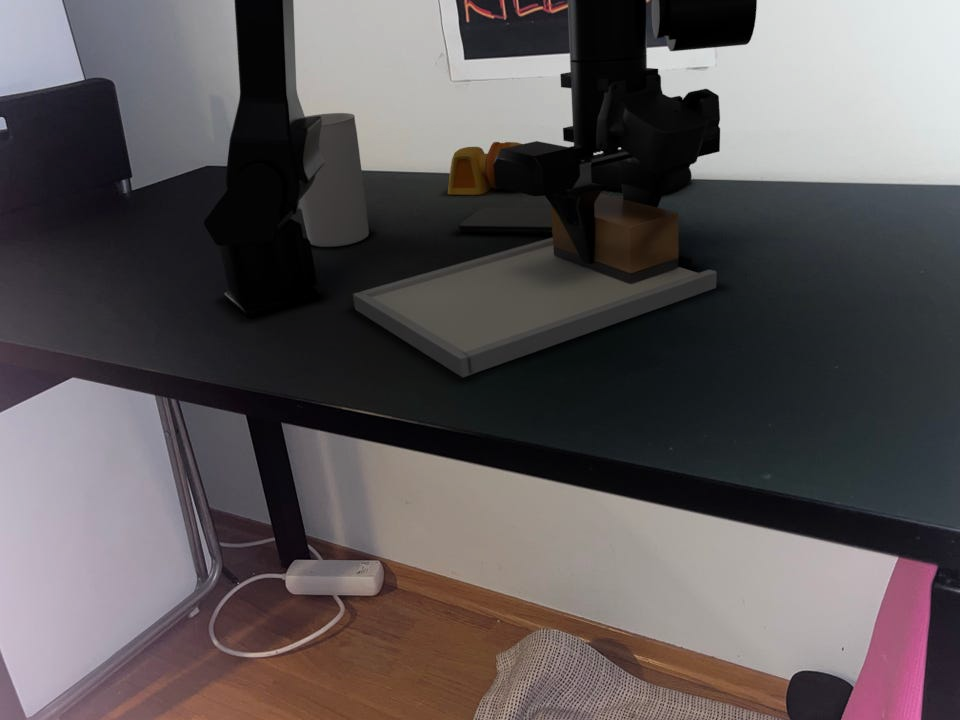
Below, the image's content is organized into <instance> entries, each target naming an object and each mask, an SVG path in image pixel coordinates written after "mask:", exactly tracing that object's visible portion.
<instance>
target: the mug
mask: <svg viewBox="0 0 960 720" xmlns="http://www.w3.org/2000/svg"><path fill="white" fill-rule="evenodd" d="M315 116H320V117H321V118H322V124H321V132H320V139H319V147H320V154H321V156H322V159H323V161H324V165H323V166H322V167H321V168H320V170H319V171H318V172H317V173H316V175H315V179H314V181H313V184H312V185H311V187H310V188H309V189H308V191H307V192H306V193H305V194H304V195H303V197H302V198H301V199H300V200H299V204H298V209H297V210H300V211H301V213H302V217H303V223H304V227H305V228H304V229H305V232H306V236H307V237H306V238H307V239H309V240H310V245H311V246H314V247H319V248H335V247H336V248H337V247H343V246H348V245H352V244H355V243H356V244H357V243H359V242H362V241H363V240H365V239H367V238H368V237H369V234H370V230H369V220H368V211H367V202H366V195H365V187H364V186H365V185H364V179H363V171H362V163H361V155H360V146H359V140H358V139H359V138H358V132H357V125H356V119H355V117H356V116H355V115H354V114H353V113H349V112H333V113H331V112H330V113H321V114H320V113H319V114H312V115H307V116H305V118H307V117H315Z"/></svg>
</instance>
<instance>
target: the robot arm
mask: <svg viewBox="0 0 960 720" xmlns="http://www.w3.org/2000/svg"><path fill="white" fill-rule="evenodd" d="M294 6H295V5H294V0H234V15H235V17H234V18H235V33H236V49H237V50H236V51H237V67H238V80H239V82H238V83H239V98H238V99H239V100H238V104H237V108H236V111H235V116H234V121H233V124H232V129H231V134H230V136H229V141H228V142H229V143H228V151H227V152H228V154H227V160H226V161H227V163H226V169H225V171H226V172H225V186H226V190H225V192H224V194H223V195H222V196H221V198H220V199H219V200H218V202H217V203H216V204H215V206H214V207H213V208H212V210H211V211H210V212H209V214H208V215H207V216H206V217H205V219H204V221H203V226H204V227H205V229H206V230H207V232H208V233H209V235H210V237H211V239H212V240H213V242H214V243H215V245H216V246H218V247H219V250H220V256H221V260H222V264H223V269H224V273H225V278H226V283H227V287H228V290H227V291H226V292H224V298H225V300H226V301H227V302H228V303H230V304H231V305H232V306H233V307H235V308H236V309H237V310H238V311H240V312H241V313H242V314H243V315H244V316H245V317H249V318H253V317H257V316H259V315H263V314H266V313H270V312H274V311H277V310H281V309H285V308H288V307H291V306H295V305H299V304H302V303H306V302H310V301H313V300H317V299H320V298H321V291H320V290H319V289H317V288H316V287H315V286H316V285H317V283H318V280H317V279H318V278H317V273H316V268H315V262H314V256H313V251H312V244H310V240H309V239H308V237H306V236H304V234H303V229H302V228H303V227H302V224H301V223H300V222H299V221H297V220H294V219H293V218H292V217H293V216H295V215H296V214H297V212H298V210H299V209H298V204H299V200H300V199H301V198H302V197H303V195H304V194H305V193H306V192H307V191H308V189H309V188H310V187H311V185H312V184H313V181H314V179H315V175H316V173H317V172H318V171H319V170H320V168H321V167H322V166H323V165H324V161H323V159H322V156H321V154H320V147H319V139H320V132H321V124H322V118H321V117H320V116H315V117H307V118H305V117H306V116H305V113H304V110H303V107H302V104H301V102H300V98H299V95H298V89H297V67H296V66H297V65H296V38H295V37H296V36H295V10H294V8H295V7H294ZM757 7H758V0H651V25H652V31H653V32H652V33H653V37H654V38H655V39H663V38H664V37H665V40H666V44H667V45H666V46H667V49H668V50H669V52H679V51H680V52H681V51H692V50H700V49H714V48H724V47H726V48H727V47H735V46H736V47H737V46H746V45H748V44H749V43H750V41H751V40H752V37H753V34H754V30H755V26H756V18H757ZM567 19H568V20H567V21H568V23H567V24H568V41H569V42H568V43H569V44H568V46H569V67H570V68H569V69H570V71H569V72H562V73H560V74H559V76H560V77H559V78H560V88H563V89H564V88H565V89H570V91H571V93H570V94H571V115H572V117H571V118H572V125H571V126H566V127H563V128H562V133H563V134H562V135H563V138H562V139H563V141H564V142H567V143H573V145H572V146H564V145H559V144H554V143H549V142H545V141H538V140H535V141H530V142H526V143H521V145H516V146H512V147H507V148H502V149H500V151H499V153H498V155H497V157H496V159H495V161H494V164H493V167H494V179H495V186H499V187H502V188H501V189H505V188H506V189H505V190H510V191H513V192H517V193H520V194H523V195H526V196H532V197H544V196H545V199H547V201H548V202H549V204H550V206H551V205H552V207H553V208H554V210H555V211H556V213H557V214H558V216H559V218H560V220H561V222H562V223H563V225H564V227H565V229H566V231H567V233H568V235H569V237H570V239H571V241H572V243H573V245H574V246H575V248H576V250H577V252H578V254H579V256H580V258H581V260H582V261H583V262H584V263H586V264H589V265H590V264H593V263H594V254H595V214H594V204H595V201H596V199H597V198H598V196H599V195H600V193H601V194H602V191H603V190H604V189H605V188H604V186H603V185H599V184H595V183H592V176H591V168H592V167H596V166H600V165H604V164H608V163H612V162H616V161H618V165H619V172H620V179H621V186H622V190H621V191H622V199H625V200H629V201H633V202H637V203H641V204H645V205H649V206H653V207H657V208H659V205H660V202H661V200H662V197H663V195H664V194H665V193H664V191H665V188H666V186H667V185H668V183H669V182H670V181H671V180H672V179H673V178H675V177H676V176H677V175H678V174H679V173H680V172H681V171H683V170H686V169H688V168H690V167H691V166H692V165H693V164H695V163H697V161H698V158H699V157H704V156H708V155H712V154H717V153H719V152H720V151H721V127H720V126H719V125H720V121H721V111H720V96H719V95H718V94H717V93H715V92H713V91H712V90H710V89H708V88H702V89H699V90H698V89H697V90H692V91H689V92H687V93H686V95H685V96H684V97H683V96H681V95H675V96H672V97H671V96H669V95H668V96H667V95H666V94H664V93H663V89H662V76H661V74H659V68H653V67H648V55H647V53H648V52H647V51H648V50H647V49H648V47H647V45H648V44H647V42H648V41H647V38H648V37H647V0H567Z"/></svg>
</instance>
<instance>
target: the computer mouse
mask: <svg viewBox="0 0 960 720" xmlns="http://www.w3.org/2000/svg"><path fill="white" fill-rule="evenodd" d="M591 176H592V183H595V184H599V185H603V186H604V188H603V189H606V190H607V189H608V190H614V191H615V190H616V191H622V186H621V179H620V172H619V165H618V161H616V162H612V163H608V164H604V165H600V166H596V167H592V168H591ZM692 178H693V175H692V171H691V168H690V167H689V168H688V169H686V170H683V171H681V172H680V173H679V174H678V175H677V176H676V177H675V178H673V179H672V180H671V181H670V182H669V183H668V185H667V186H666V188H665V191H664V193H663V194H667V193H669V192H673V191H676V190H677V189H679V188H681V187H684V186H685V185H687V184H688V183H689V182H690V181H691V180H692Z"/></svg>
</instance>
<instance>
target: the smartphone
mask: <svg viewBox="0 0 960 720" xmlns="http://www.w3.org/2000/svg"><path fill="white" fill-rule="evenodd" d="M457 228H458V231H459V232H461V233H482V234H483V233H484V234H485V233H487V234H537V235H538V234H542V235H543V234H544V235H549V234H550V235H553V233H552V216H551V207H498V206H497V207H495V206H494V207H491V206H490V207H487V206H485V207H481V208H479V209H478V210H477V211H475V212H474V213H472V214H471V215H469V217H467V218H465V219H464V220H462V222H460V223H459V224H458V226H457Z"/></svg>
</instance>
